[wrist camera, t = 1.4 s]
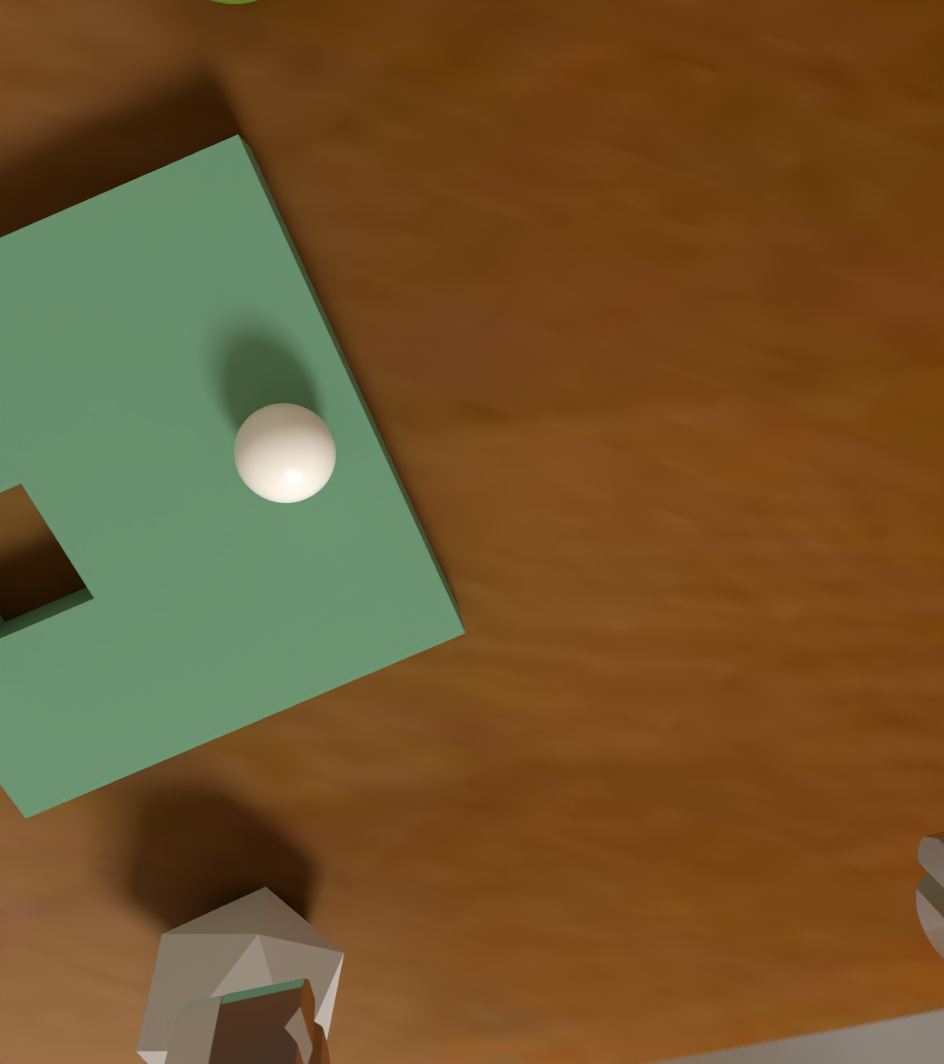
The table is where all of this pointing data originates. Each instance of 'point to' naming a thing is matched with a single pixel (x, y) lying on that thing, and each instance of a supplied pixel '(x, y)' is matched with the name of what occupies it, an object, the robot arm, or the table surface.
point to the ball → (284, 453)
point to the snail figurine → (234, 1)
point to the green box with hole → (186, 484)
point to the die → (236, 963)
